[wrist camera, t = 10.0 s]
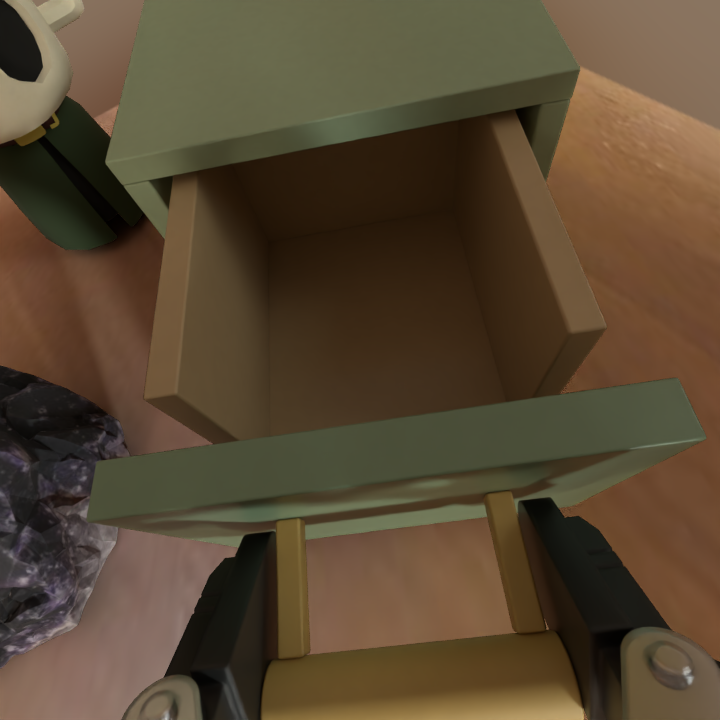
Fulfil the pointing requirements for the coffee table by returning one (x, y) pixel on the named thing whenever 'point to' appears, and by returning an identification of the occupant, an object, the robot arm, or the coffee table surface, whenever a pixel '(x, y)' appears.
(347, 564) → the coffee table surface
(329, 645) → the coffee table surface
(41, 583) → the black rock
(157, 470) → the drawer
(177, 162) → the cabinet
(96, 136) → the character mug
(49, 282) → the coffee table surface
